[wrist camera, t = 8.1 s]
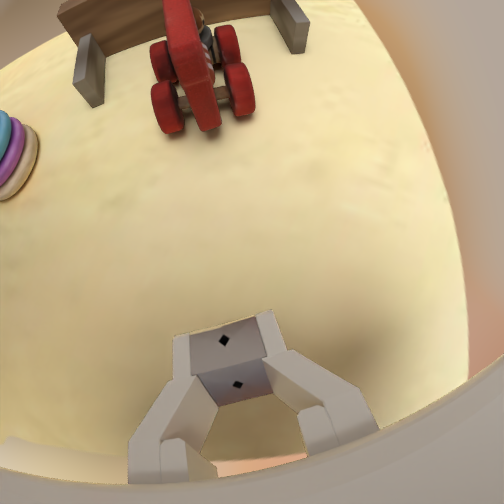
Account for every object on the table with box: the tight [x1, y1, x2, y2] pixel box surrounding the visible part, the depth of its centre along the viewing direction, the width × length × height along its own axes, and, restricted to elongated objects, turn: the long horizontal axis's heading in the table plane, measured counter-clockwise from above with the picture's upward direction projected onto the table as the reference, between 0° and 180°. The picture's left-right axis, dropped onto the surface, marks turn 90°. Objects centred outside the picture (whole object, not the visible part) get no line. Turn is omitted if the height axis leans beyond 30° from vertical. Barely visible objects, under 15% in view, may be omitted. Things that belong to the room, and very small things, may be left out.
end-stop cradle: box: [57, 0, 310, 108], centre depth 18 cm, size 9×21×8 cm, turn 104°
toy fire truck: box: [150, 0, 255, 134], centre depth 16 cm, size 7×12×10 cm, turn 13°
